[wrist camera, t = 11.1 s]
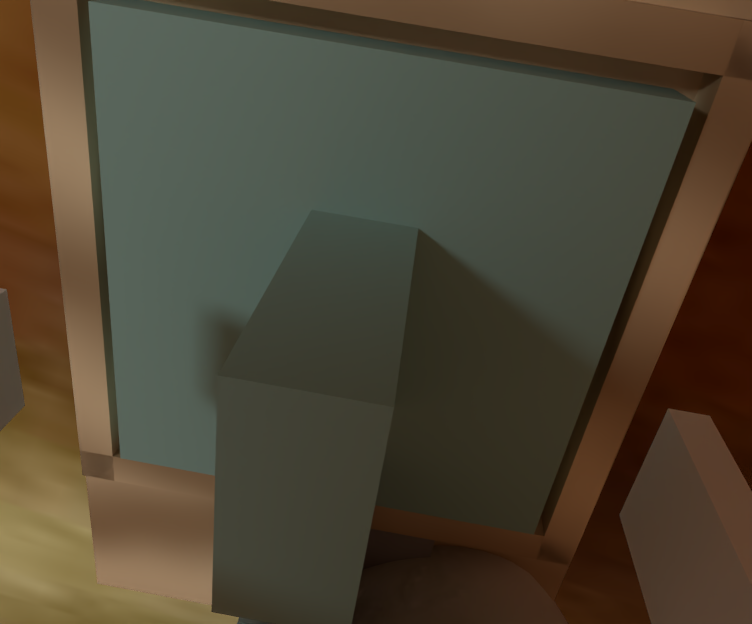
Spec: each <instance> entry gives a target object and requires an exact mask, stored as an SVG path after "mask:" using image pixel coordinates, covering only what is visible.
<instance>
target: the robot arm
mask: <svg viewBox="0 0 752 624" xmlns="http://www.w3.org/2000/svg"><path fill="white" fill-rule="evenodd" d="M24 406H25V403H24V397H23V390H22V384H21V378H20V372H19V365H18V359H17V353H16V346H15V340H14V334H13V327H12V321H11V315H10V308H9V302H8V296H7V289H2V288H0V431H1V430H2V429H3V428H4V427H5V425H6V424H7V423H8V422H9V421H10V420H11V419H12V418H13V417H14V416H15V415H16V414H17V413H18V412H19V411H20V410H21V409H22V408H23V407H24ZM619 516H620V519H621V522H622V526H623V529H624V533H625V536H626V540H627V543H628V546H629V550H630V553H631V557H632V560H633V563H634V567H635V570H636V574H637V577H638V581H639V584H640V587H641V591H642V594H643V598H644V601H645V604H646V608H647V611H648V615H649V618H650V621H651V624H752V491H751V489H750V487H749V486H748V484H747V482H746V480H745V478H744V477H743V475H742V473H741V471H740V469H739V467H738V466H737V464H736V462H735V460H734V458H733V457H732V455H731V453H730V451H729V449H728V448H727V446H726V444H725V442H724V440H723V439H722V437H721V435H720V433H719V431H718V430H717V428H716V426H715V424H714V422H713V421H712V419H711V417H710V416H708V415H703V414H697V413H692V412H686V411H680V410H675V409H669V408H668V410H667V412H666V414H665V416H664V418H663V421H662V423H661V425H660V427H659V429H658V431H657V434H656V436H655V438H654V440H653V442H652V445H651V447H650V449H649V451H648V453H647V455H646V458H645V460H644V462H643V464H642V466H641V469H640V471H639V473H638V475H637V477H636V479H635V482H634V484H633V486H632V488H631V490H630V492H629V495H628V497H627V499H626V501H625V503H624V506H623V508H622V510H621V512H620V514H619Z"/></svg>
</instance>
